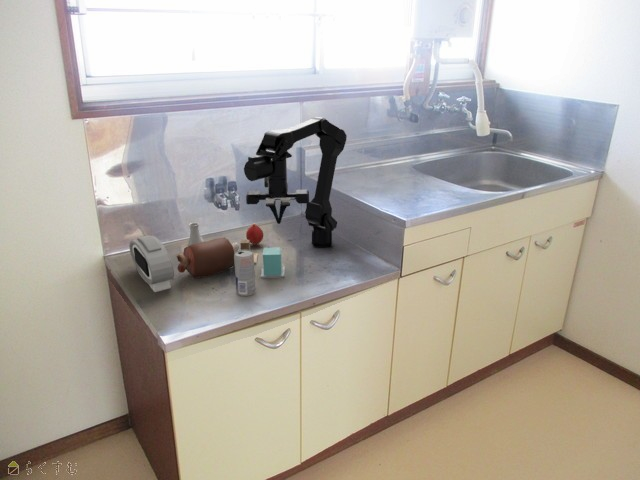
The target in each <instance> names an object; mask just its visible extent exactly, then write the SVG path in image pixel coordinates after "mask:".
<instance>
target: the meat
mask: <svg viewBox="0 0 640 480" xmlns="http://www.w3.org/2000/svg"><path fill="white" fill-rule="evenodd" d="M238 250H240V246H239V244H238V242H232V243H231V242H230V240H229V239H228V238H226V237H219V238H213V239H211V240H207V241H204V242H199V243H195V244H192V245H190V246H188V245H187V246H185V248H184V249H183V253H181V252H180V253H178V254H177V255H176V259H177V262H179V263H178V264H177V270H178V272H179V274H180V273H185V271H187V273H189V275H190V276H191V277H192V278H193V279H200V278H205V277H209V276H210V277H211V276H213V275H217V274H220V273H222V272H224V271H226V270H230V269H232V268H233V267H235V265H234V255H235V252H236V251H238Z"/></svg>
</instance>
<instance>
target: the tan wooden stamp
mask: <svg viewBox="0 0 640 480" xmlns="http://www.w3.org/2000/svg"><path fill="white" fill-rule="evenodd" d="M240 250H251V243H250V240H247V239H241V240H240ZM253 255H254V265H257V262H258V258H259V257H258V256H259V253H253ZM234 266H235V263H234Z"/></svg>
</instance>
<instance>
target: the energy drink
mask: <svg viewBox="0 0 640 480" xmlns="http://www.w3.org/2000/svg"><path fill="white" fill-rule="evenodd" d="M253 254H254V252H253V251H252V250H251V249H250V250H241V249H238V251H236V252H235V255H234V263H235V265H234V273H235V275H234V276H235V290H236V294H237V295H238V296H241V297H249V296H252V295H254V294H255V293H256V289H257V288H256V274H255V272H256V271H255V264H254V255H253Z"/></svg>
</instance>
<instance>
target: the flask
mask: <svg viewBox="0 0 640 480" xmlns="http://www.w3.org/2000/svg"><path fill="white" fill-rule="evenodd" d="M199 226H200V223H199V222H190V223H189V224H188V227H189V229H190V231H189V240H188V244H187V247H188V246H190V245H192V244H195V243H199V242H205V241H204V239H203V237H202V235H201V233H200V229H199Z"/></svg>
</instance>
